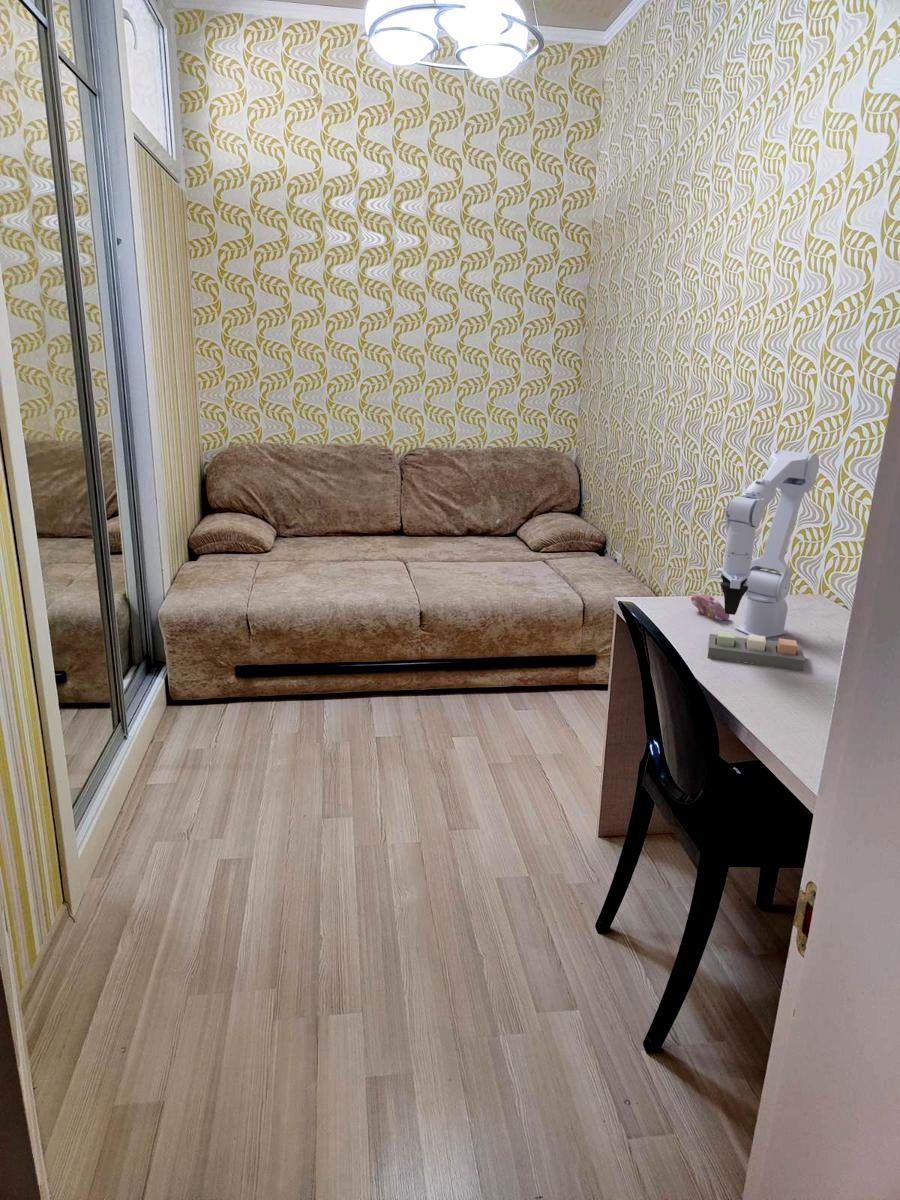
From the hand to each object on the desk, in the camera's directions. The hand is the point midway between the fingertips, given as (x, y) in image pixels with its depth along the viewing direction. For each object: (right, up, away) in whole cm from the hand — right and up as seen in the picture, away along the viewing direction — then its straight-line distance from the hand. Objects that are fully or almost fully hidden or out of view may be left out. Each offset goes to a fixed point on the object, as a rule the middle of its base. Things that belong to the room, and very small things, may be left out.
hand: (730, 610), depth 179 cm
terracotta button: (+12, -10, -1) cm, 16 cm away
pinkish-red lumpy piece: (+4, -2, +27) cm, 27 cm away
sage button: (0, -8, +3) cm, 9 cm away
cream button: (+6, -9, +1) cm, 11 cm away
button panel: (+6, -11, +1) cm, 12 cm away
